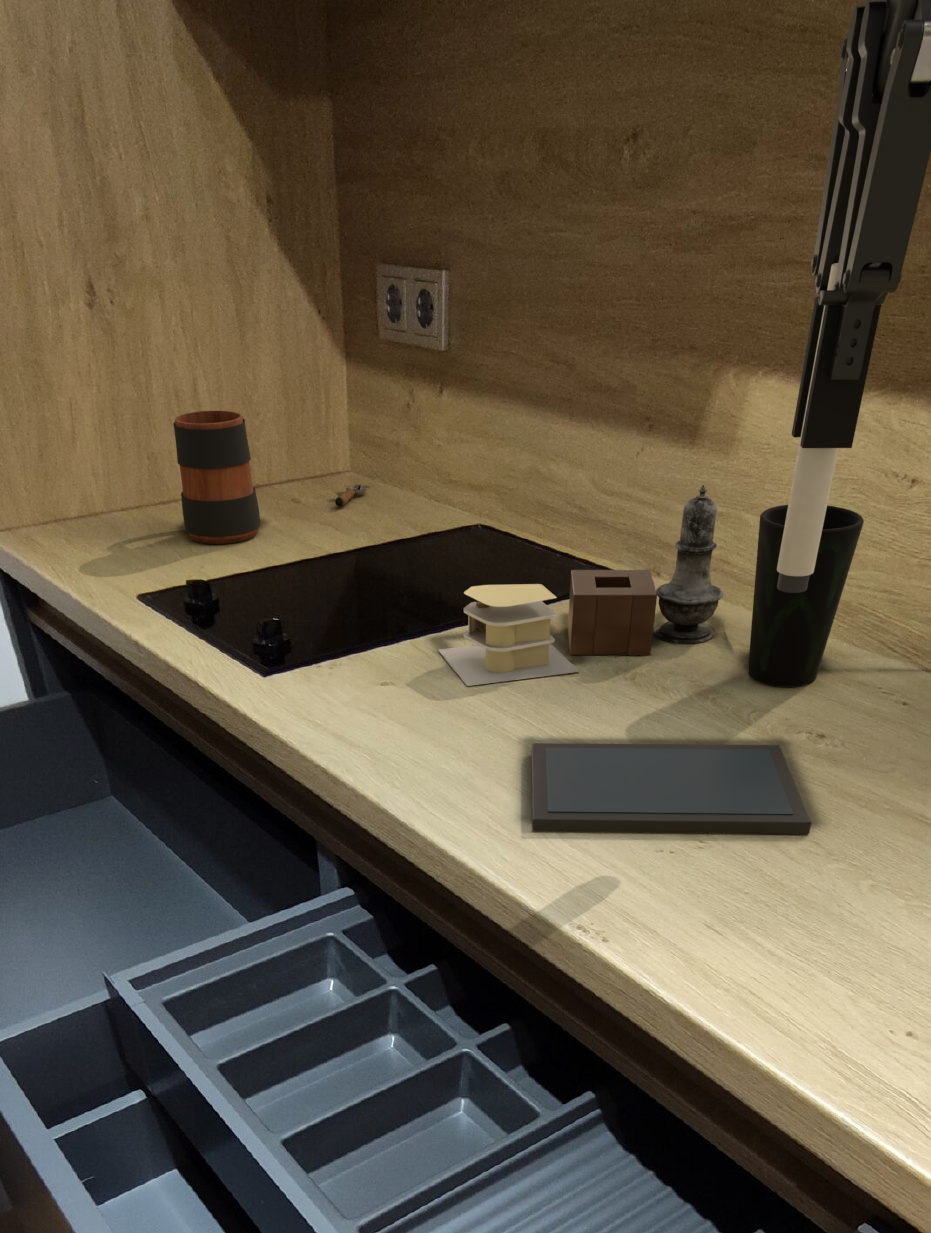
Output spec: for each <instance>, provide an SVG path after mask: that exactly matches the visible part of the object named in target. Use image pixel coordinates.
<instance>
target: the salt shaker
mask: <svg viewBox="0 0 931 1233" xmlns="http://www.w3.org/2000/svg"><path fill="white" fill-rule="evenodd" d="M707 491H708V490H707V489H706V487H705V484H702V485H701V487H700V488H699V489H698V492H699V494H698V495H696V496H695V497H692V498H691V499H689V500H688V501H686V503H685V504H684V506H683V509H682V510H683V511H682V518H681V520H682V521H681V526H680V536H679V540H678V541H676V542H675V543H674V547H675V549H677V552H676V561H675V569H674V571H673V574H672V578H671V580H670V581H669V582H667V583H664V584H662V585H660V586H658V587H657V588H656V589H655V590H656V593H657V598H658V607H659V610H660V613H661V615H662V616H663V617H664V618H665V619H666V620H667V621H665V622H663V623H662V624H660V625H658V626H657V627H656V628H655V630H654V634H655V636H656V637H657V638H659V639H661V640H663V641H665V642H669V643H674V644H684V645H685V644H686V645H688V644H689V645H690V644H691V645H692V644H699V643H704V642H705V643H706V642H708V641H709V640H712V639H713V638H714V636H715V631H714V630H713V629H712V628H711V627H710V626H709V625H708V624H706V622H707V621H708V620H709V619H711V618H712V616H713V615H714V614H715V612H716V611H717V609H718V606H719V601H720V600H721V599H722V598H723V597H724V591H723V590H722V589H721V587H718V586H717V585H715V584H713V583H712V581H711V562H712V557H713V556H712V555H713V552H714V550H715V549H717V546H718V545H717V543H716V542H715V541H714V534H715V526H716V521H717V513H718V505H717V503H716V502H715V501H714V500H713V499H712V498H710V497H708V495H706V493H707Z"/></svg>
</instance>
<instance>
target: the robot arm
mask: <svg viewBox="0 0 931 1233" xmlns="http://www.w3.org/2000/svg"><path fill="white" fill-rule="evenodd" d="M839 59H840V66H839V78H838V86H837V89H838V90H837V99H836V106H835V113H834V119H833V126H832V132H831V138H830V145H829V152H828V159H827V165H826V170H825V171H826V172H825V179H824V186H823V192H822V198H821V207H820V213H819V218H818V226H817V232H816V239H815V246H814V251H813V256H812V258H811V262H810V270H811V271H810V272H811V276H812V277H815V279H814V287H815V294H816V295H818V296H815V297H814V303H813V310H812V314H811V319H810V320H811V321H810V326H809V332H808V337H807V343H806V347H805V348H806V349H805V355H804V360H803V366H802V371H801V378H800V383H799V388H798V394H797V400H796V406H795V411H794V416H793V423H792V428H791V436H792V437H793V438H801V432H802V427H803V421H804V416H805V421H804V427H803V432H802V438H801V443H800V442H799V443H800V446H801V447H802V448H839V449H852V448H853V444H854V439H855V434H856V429H857V425H858V419H859V414H860V409H861V406H862V400H863V396H864V392H865V391H864V390H865V386H866V381H867V377H868V372H869V366H870V362H871V358H872V352H873V347H874V342H875V338H876V334H877V329H878V324H879V319H880V314H881V309H882V305H883V304H884V302H885V300H886V297H887V296H888V294H889V293H890V294H893V293H894V294H895V293H896V291H897V290H898V288H899V285H900V283H901V280H902V274H903V273H902V272H903V266H904V262H905V259H906V254H907V252H908V248H909V247H908V246H909V243H910V238H911V235H912V230H913V227H914V222H915V218H916V213H917V209H918V205H919V201H920V197H921V194H922V189H923V185H924V181H925V178H926V172H927V168H928V164H929V160H930V157H931V0H864V2H863V5H856V6H854V9H853V10H852V14H851V18H850V24H849V28H848V34H847V35H846V36H845V38H844V40H843V44H842V45H841V47H840V51H839ZM834 263H839V264H838V270H837V276H836V282H835V285H834V287H833V290H827V288H828V283H829V277H830V271H831V266H832V264H834ZM824 305H825V310H824ZM823 310H824V316H823ZM822 316H823V321H822ZM821 321H822V327H821ZM820 327H821V332H820ZM819 332H820V338H819ZM818 338H819V343H818ZM817 344H818V349H817ZM816 349H817V355H816ZM815 355H816V360H815ZM814 360H815V366H814ZM813 366H814V371H813ZM812 371H813V377H812ZM811 377H812V382H811ZM810 382H811V388H810ZM809 388H810V393H809ZM808 393H809V399H808ZM807 399H808V404H807ZM806 405H807V410H806ZM805 410H806V415H805Z"/></svg>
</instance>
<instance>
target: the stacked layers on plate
mask: <svg viewBox="0 0 931 1233" xmlns="http://www.w3.org/2000/svg"><path fill="white" fill-rule="evenodd" d="M463 594H464V595H466V596H468V597H470V598H471V599H474V600H476V601H471V602H470V603H469V604H467V605H466V606H465V607H463V613H464V614H466V616H467V621H468V622H467V623H468V626H467V630H466V631H464V632H463V638H464V639H465V640H467V641H469V642H471V643H473V644H475V645H473V644H472V645H465V646H456V647H448V648H440V649H437V651H438V652H439V654H441V656H442V657H443V659H445V661H446V662H447V663H448V664H449V665H450V667H451V668H452V669H453V670H454V672H455V673H456V675H458V676H459V678H460V679H461V680H462V682H463V683H464V684H465V685H466V687H471V686H480V685H487V684H493V683H503V682H510V681H517V680H525V679H533V678H534V679H535V678H542V677H549V676H558V675H566V674H574V673H580V672H581V671H580V670H579V669H578V668H576V666H574V665H573V663H572V662H571V661H569V660H568V659H567V658H566V657H565V656H564V655H563V654H562V653H561V652H560V651H559V650H558V649H557V648H556V647H555V646H554V645H553V643H555V637H553V635H552V634H551V620H552V619H555V618H556V617H557V613H556V612H555V611H554V610H553V609H551V608H550V607H549V606H548V605H547V604H546V603H545V602H544V601H548V600H553V599H557V598H558V597H557V596H556V595H555V594H553V593H552V592H551V591H550V590H549V589H548V588H546V587H545V586H544V585H543V584H541V583H527V584H526V583H523V584H520V583H519V584H516V583H515V584H481V585H473V586H470V587H469V588H468V589H466V590H465V591H464V592H463Z"/></svg>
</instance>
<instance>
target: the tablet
mask: <svg viewBox="0 0 931 1233" xmlns="http://www.w3.org/2000/svg"><path fill="white" fill-rule="evenodd" d="M530 754H531V758H530V759H531V760H530V762H531V763H530V764H531V765H530V768H531V821H532V822H531V827H532V828H531V830H532V832H559V833H560V832H563V833H564V832H565V833H566V832H567V833H569V832H571V833H643V834H644V833H646V834H647V833H651V834H654V833H655V834H656V833H658V834H663V833H664V834H724V835H725V834H727V835H728V834H730V835H732V834H733V835H739V834H740V835H742V834H743V835H809V834H810V831H811V827H812V820H811V818H810V815H809V813H808V810H807V808H806V805H805V803H804V801H803V798H802V796H801V793H800V791H799V788H798V786H797V784H796V781H795V779H794V776H793V773H792V771H791V768H790V766H789V764H788V762H787V759H786V757H785V755H784V752H783V750H782V747H781V745H780V744H712V743H711V744H710V743H709V744H707V743H705V744H704V743H702V744H700V743H699V744H697V743H572V742H571V743H567V742H566V743H562V742H559V743H558V742H557V743H556V742H552V743H551V742H532V743H531V751H530Z"/></svg>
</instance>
